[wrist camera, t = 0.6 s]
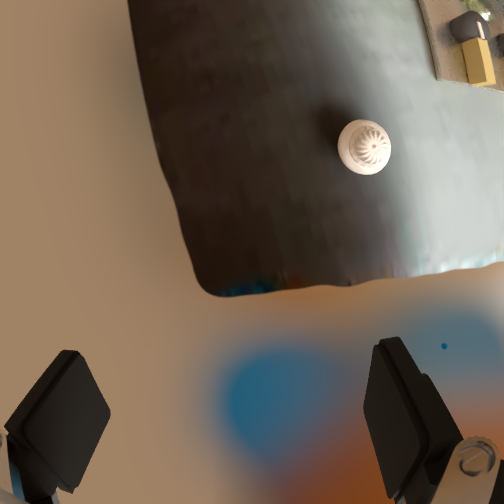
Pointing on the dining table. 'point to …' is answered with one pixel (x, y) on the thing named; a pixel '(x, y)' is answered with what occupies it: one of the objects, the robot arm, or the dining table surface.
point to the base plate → (450, 49)
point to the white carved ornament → (364, 147)
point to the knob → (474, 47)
